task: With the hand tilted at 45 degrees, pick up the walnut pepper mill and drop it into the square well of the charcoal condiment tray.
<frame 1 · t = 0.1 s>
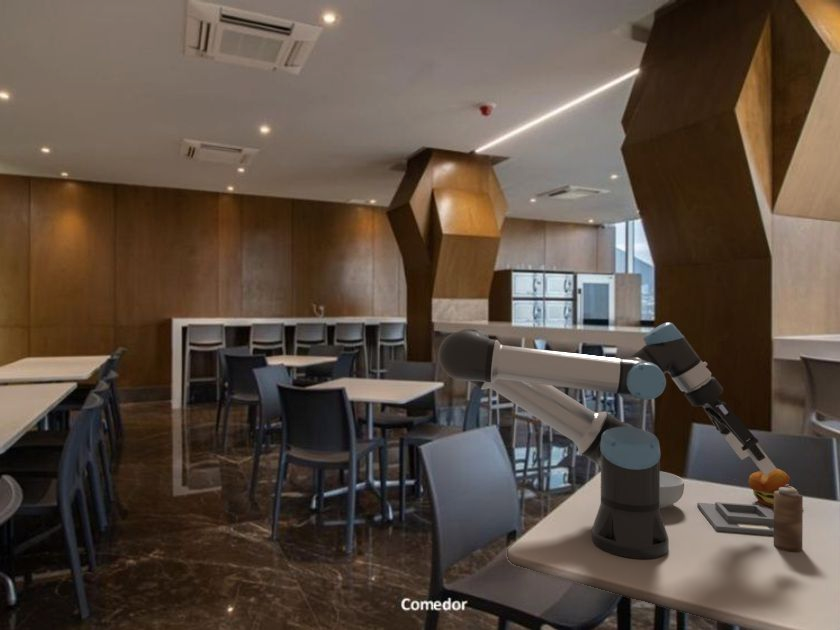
hand: (757, 463, 123), 15 cm above the table, fingers open, 13 cm apart
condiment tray: (743, 520, 130), on the table
cereal bowl: (647, 505, 141), on the table
cheeseburger: (775, 504, 141), on the table
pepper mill: (787, 547, 115), on the table
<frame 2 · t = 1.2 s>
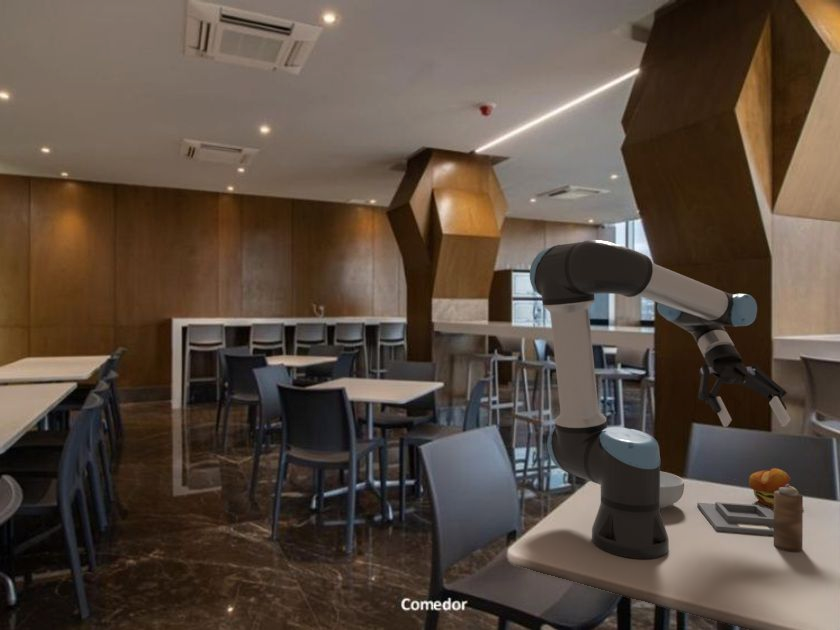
hand: (757, 423, 125), 24 cm above the table, fingers open, 13 cm apart
nothing on the table moved.
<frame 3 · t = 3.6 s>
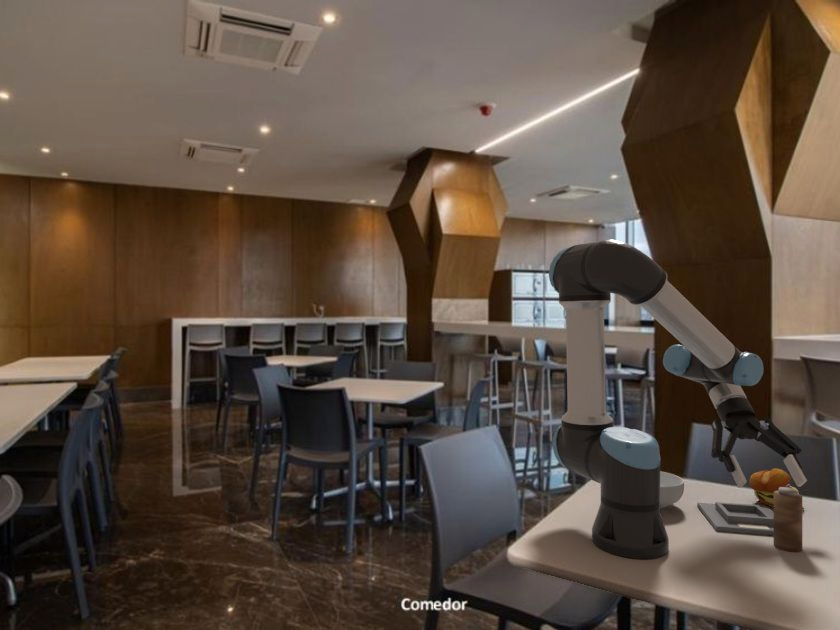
hand: (772, 484, 122), 11 cm above the table, fingers open, 13 cm apart
nothing on the table moved.
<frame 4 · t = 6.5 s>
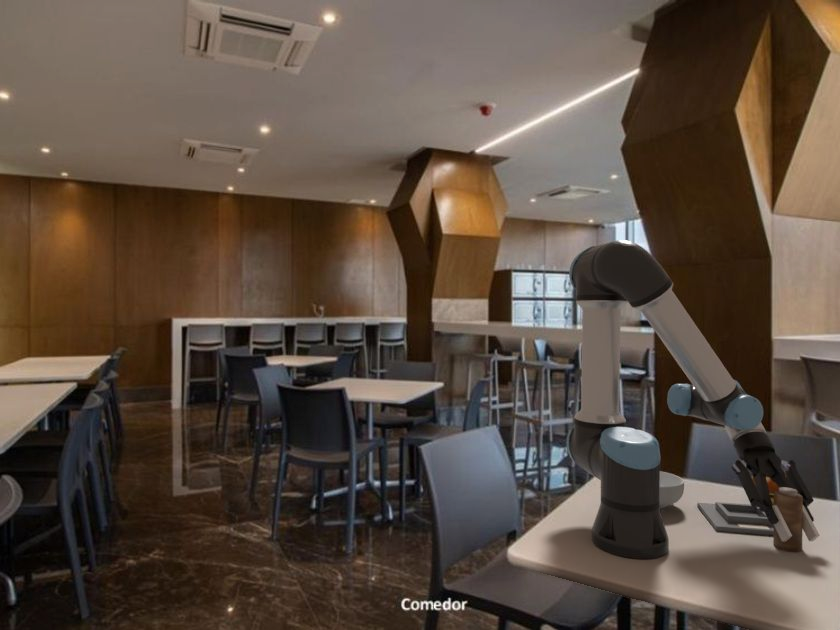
hand: (800, 538, 111), 3 cm above the table, fingers closed on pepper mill, 5 cm apart
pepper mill: (787, 547, 115), on the table, touching gripper
everything else where it was.
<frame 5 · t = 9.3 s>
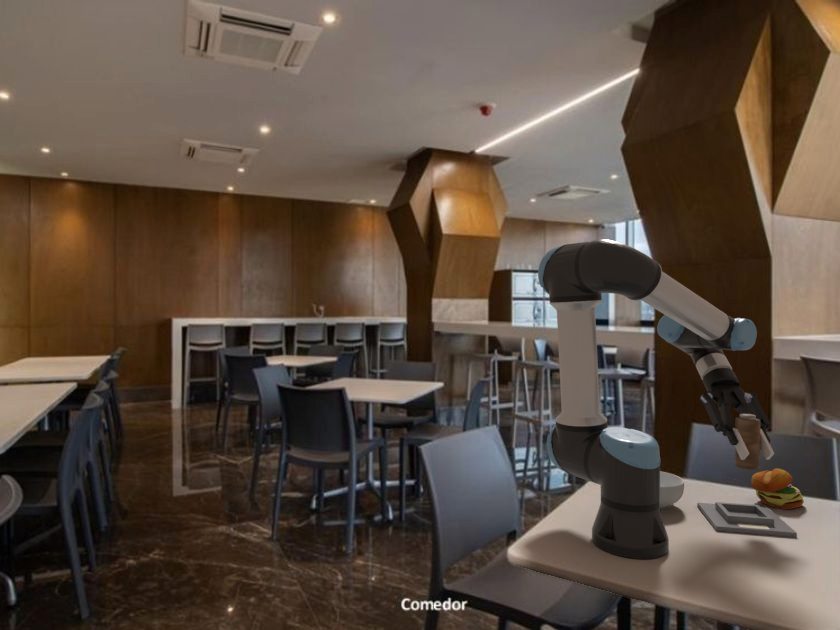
hand: (757, 456, 125), 16 cm above the table, fingers closed on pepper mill, 5 cm apart
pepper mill: (747, 466, 128), point 13 cm above the table, touching gripper
everything else where it was.
when the fingers open (6 cm above the table, at t = 12.1 s): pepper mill drops 1 cm, resting on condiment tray.
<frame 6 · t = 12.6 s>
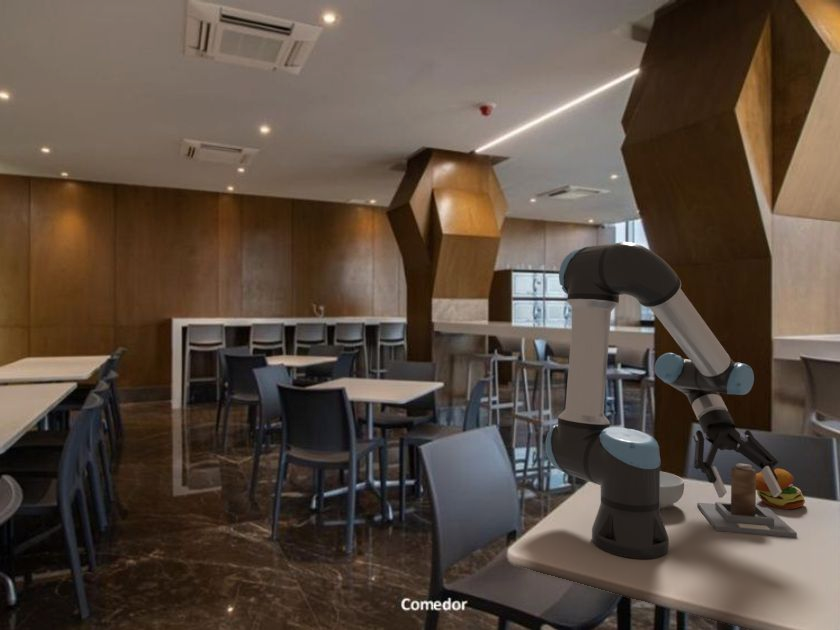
hand: (750, 494, 127), 7 cm above the table, fingers open, 12 cm apart
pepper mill: (742, 516, 130), point 1 cm above the table, touching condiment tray
everything else where it was.
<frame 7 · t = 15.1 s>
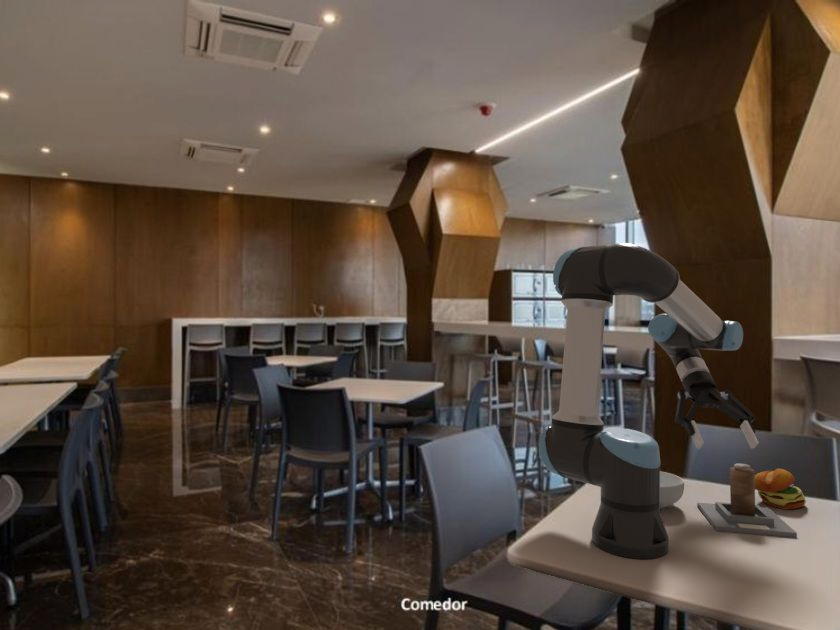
hand: (728, 445, 136), 16 cm above the table, fingers open, 13 cm apart
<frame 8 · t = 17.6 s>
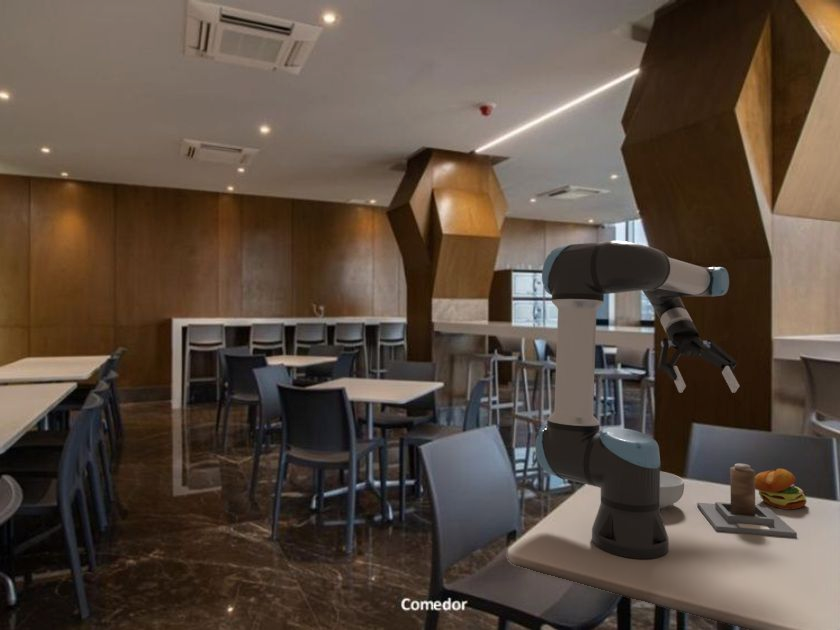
hand: (709, 389, 138), 30 cm above the table, fingers open, 13 cm apart
at the end: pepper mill 0.1 cm off-centre on the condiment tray, point 1.1 cm above the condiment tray's base; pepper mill tilted 2°; the gripper is holding nothing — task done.
